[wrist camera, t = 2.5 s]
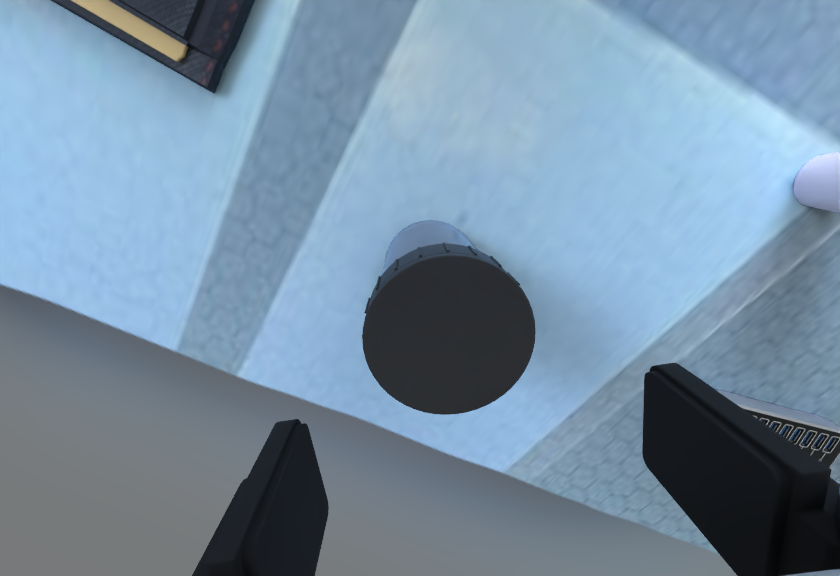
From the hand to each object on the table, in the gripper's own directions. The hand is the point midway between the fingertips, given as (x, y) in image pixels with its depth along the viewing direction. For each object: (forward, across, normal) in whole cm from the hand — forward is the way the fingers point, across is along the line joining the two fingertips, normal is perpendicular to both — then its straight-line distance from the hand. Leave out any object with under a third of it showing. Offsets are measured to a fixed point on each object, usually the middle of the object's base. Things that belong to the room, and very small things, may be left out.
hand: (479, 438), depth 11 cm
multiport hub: (+20, -26, +18) cm, 37 cm away
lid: (+7, 0, 0) cm, 7 cm away
